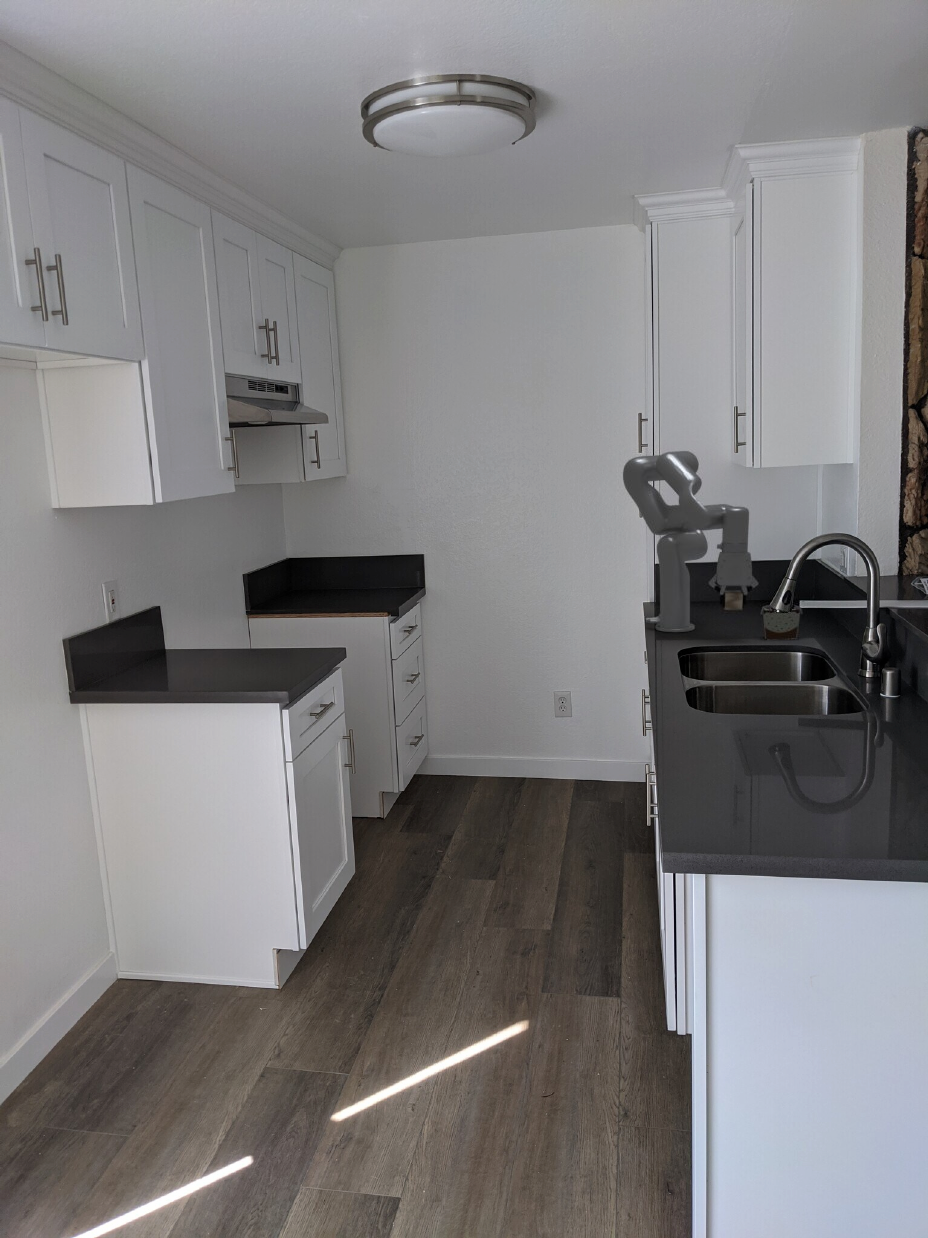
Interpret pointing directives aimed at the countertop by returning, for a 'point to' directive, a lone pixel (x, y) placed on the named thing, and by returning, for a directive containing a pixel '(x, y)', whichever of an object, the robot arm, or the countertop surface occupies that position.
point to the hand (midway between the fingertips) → (732, 606)
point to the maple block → (733, 600)
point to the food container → (781, 623)
